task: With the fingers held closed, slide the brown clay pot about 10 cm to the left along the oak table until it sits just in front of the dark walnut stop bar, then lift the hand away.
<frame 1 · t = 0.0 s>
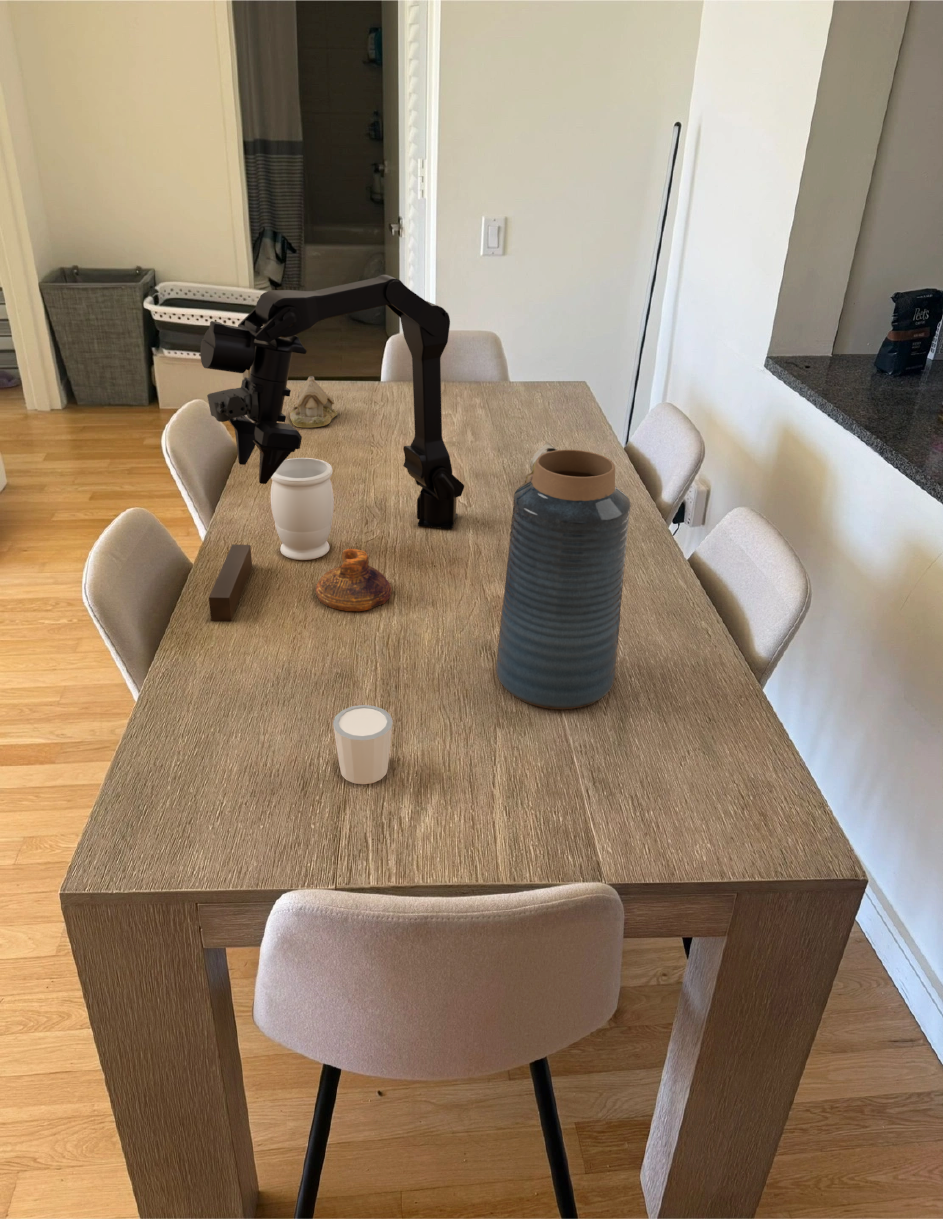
hand: (252, 473, 151), 15 cm above the table, tool pointing down, fingers open, 9 cm apart
vase: (554, 679, 131), on the table
white cup: (364, 770, 113), on the table
ceramic sculpture: (548, 489, 191), on the table
jar: (305, 551, 163), on the table
ceramic model: (313, 419, 223), on the table
stop bar: (232, 592, 149), on the table
brown clay pot: (354, 595, 150), on the table
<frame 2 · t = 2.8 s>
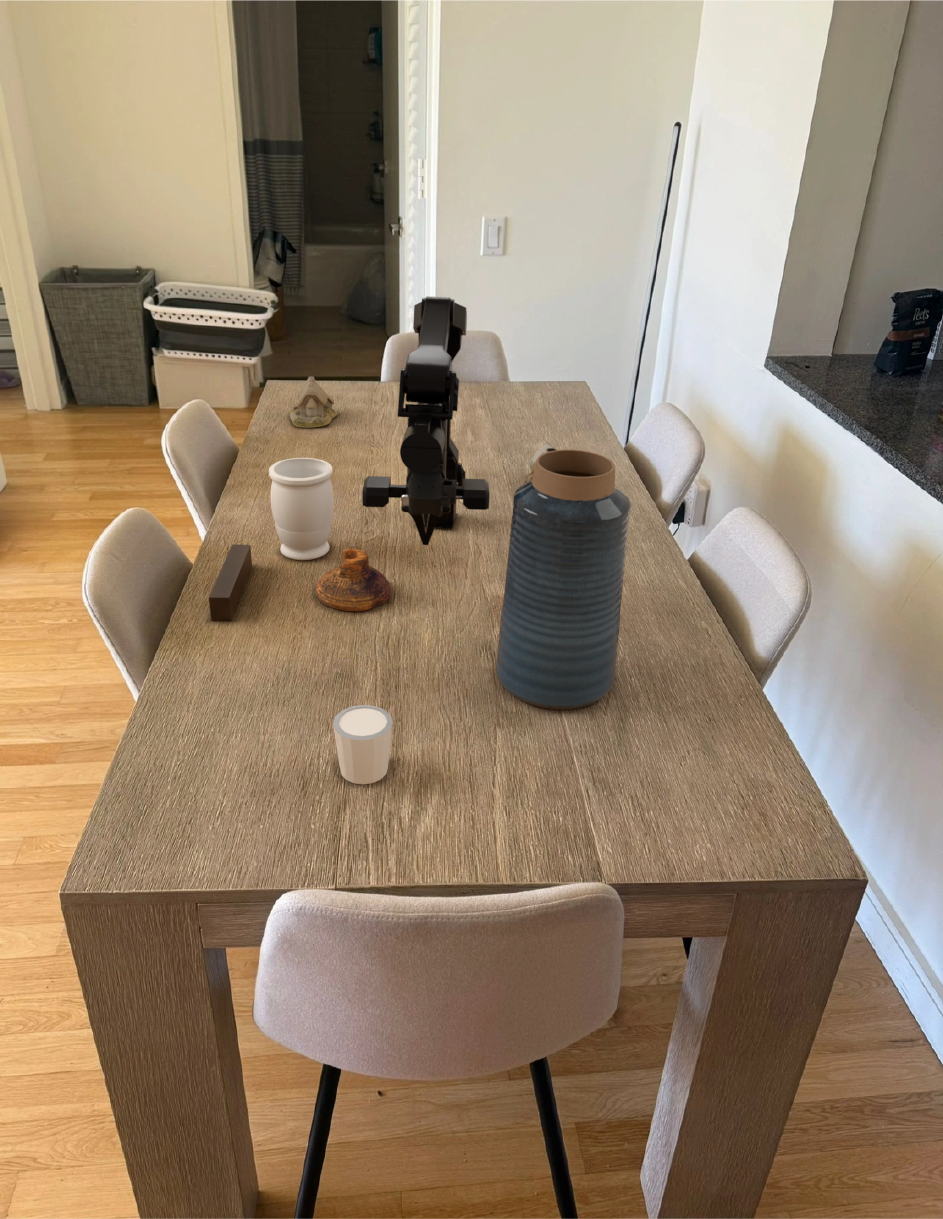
hand: (425, 544, 146), 9 cm above the table, tool pointing down, fingers closed
nothing on the table moved.
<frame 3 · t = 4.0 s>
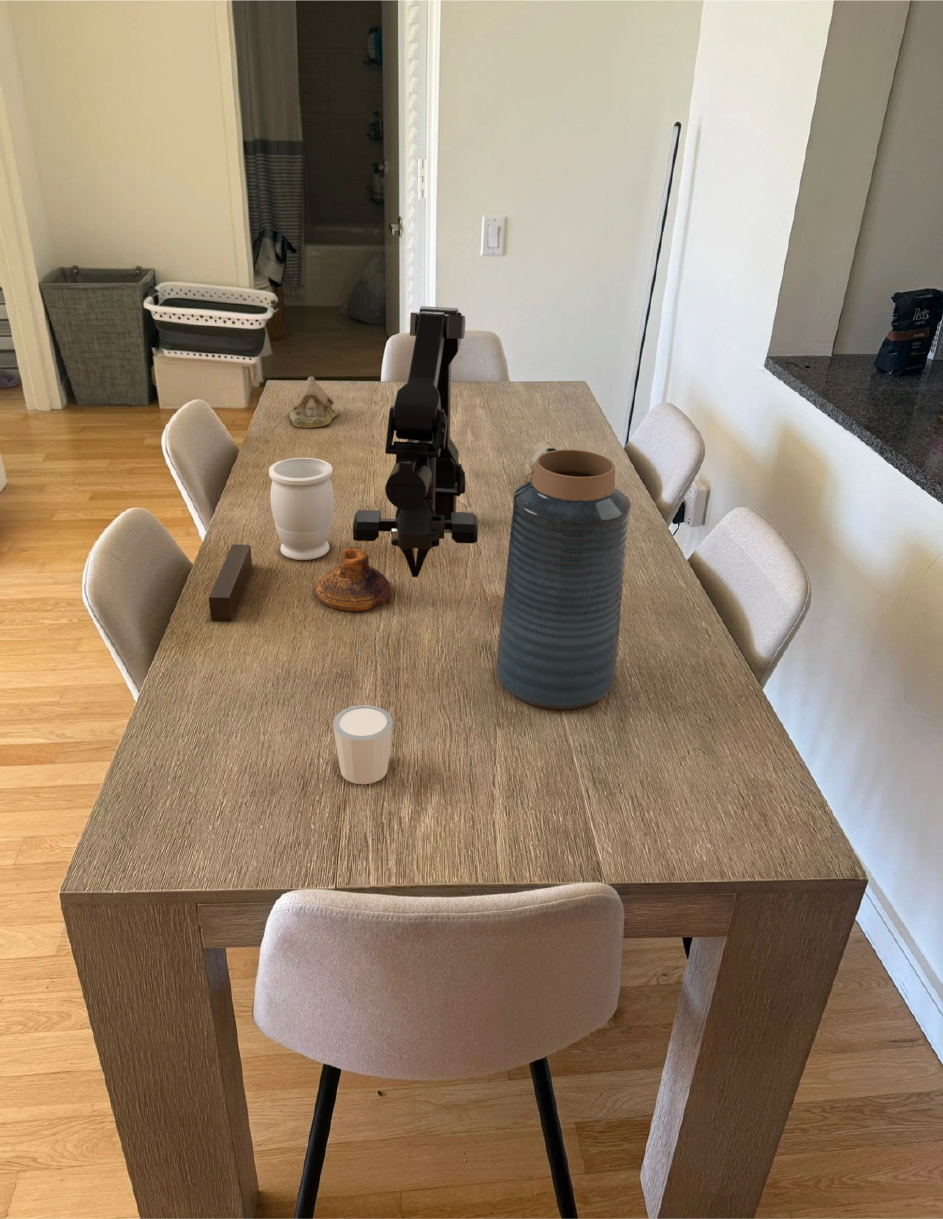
hand: (415, 576, 148), 4 cm above the table, tool pointing down, fingers closed
nothing on the table moved.
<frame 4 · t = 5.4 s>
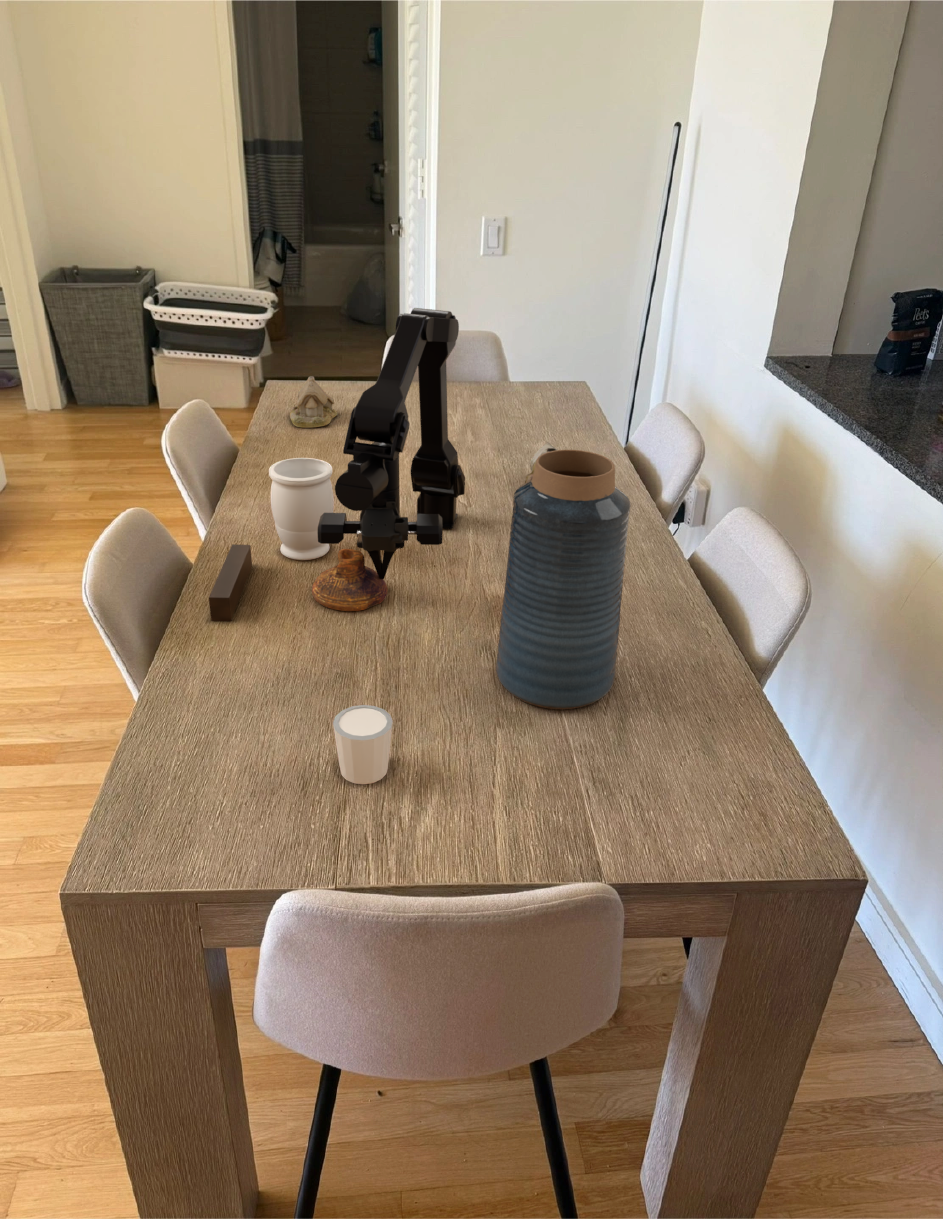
hand: (381, 578, 148), 3 cm above the table, tool pointing down, fingers closed
brown clay pot: (350, 595, 150), on the table, touching gripper
everything else where it was.
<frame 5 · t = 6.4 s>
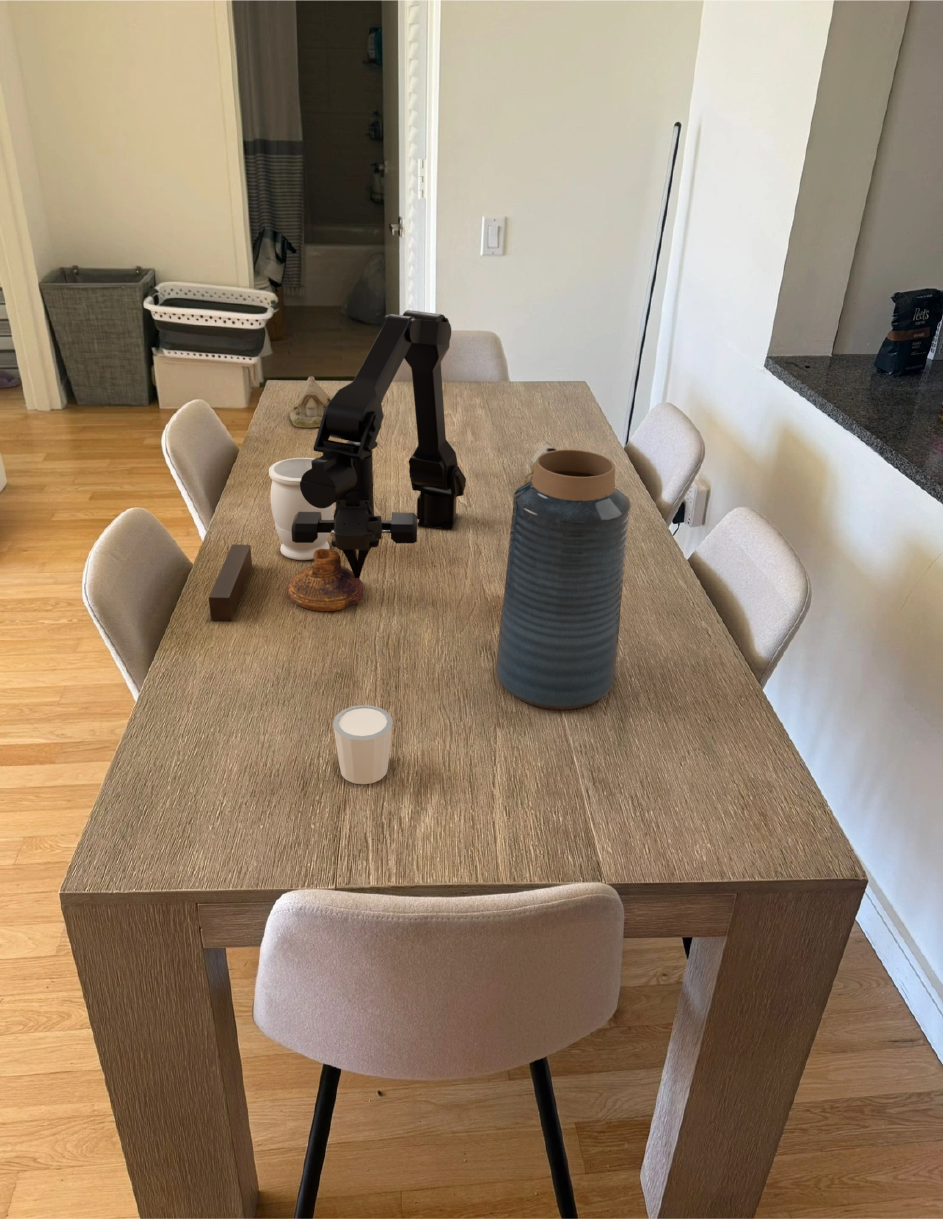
hand: (357, 577, 148), 3 cm above the table, tool pointing down, fingers closed
brown clay pot: (326, 595, 149), on the table, touching gripper
everything else where it was.
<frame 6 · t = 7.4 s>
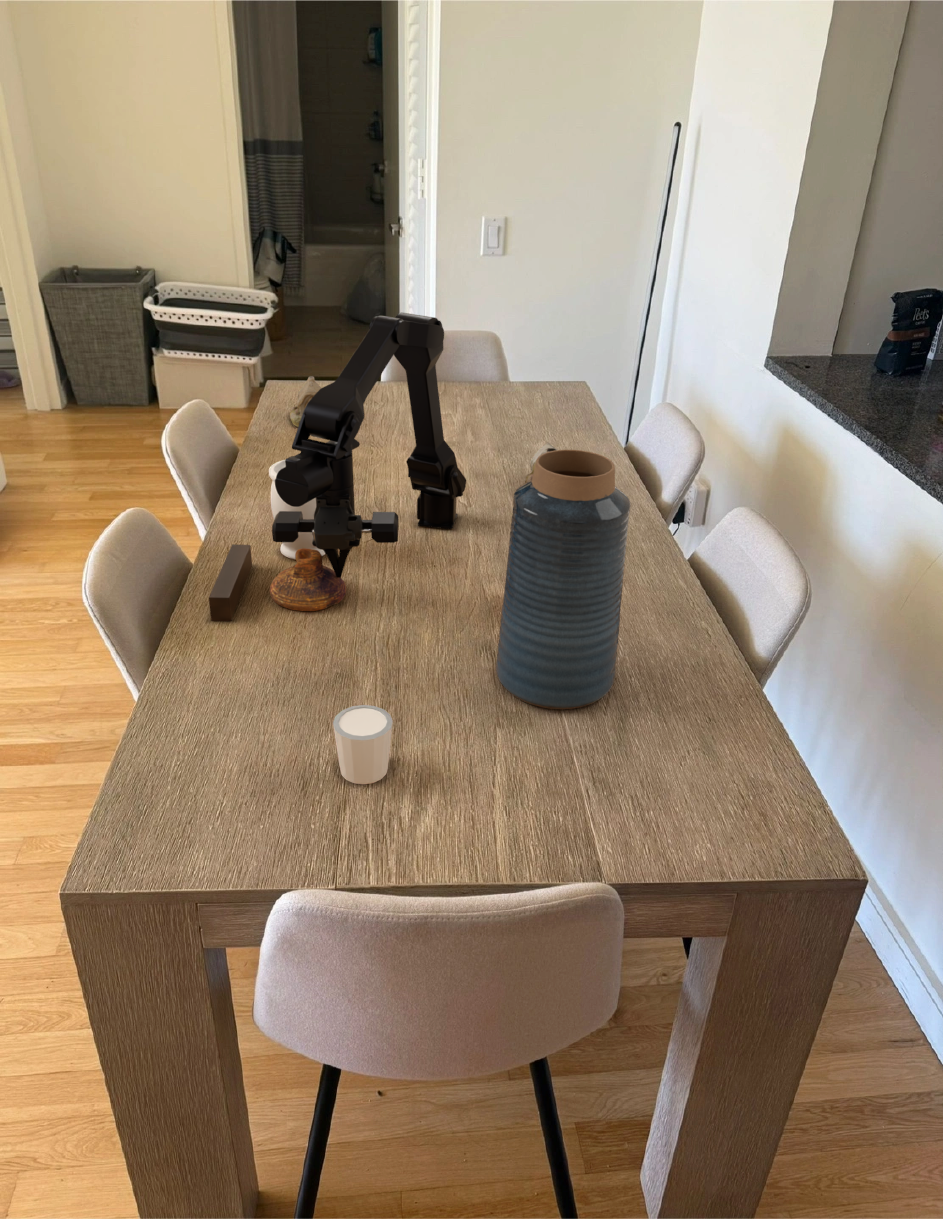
hand: (339, 576, 148), 3 cm above the table, tool pointing down, fingers closed
brown clay pot: (308, 595, 149), on the table, touching gripper
everything else where it was.
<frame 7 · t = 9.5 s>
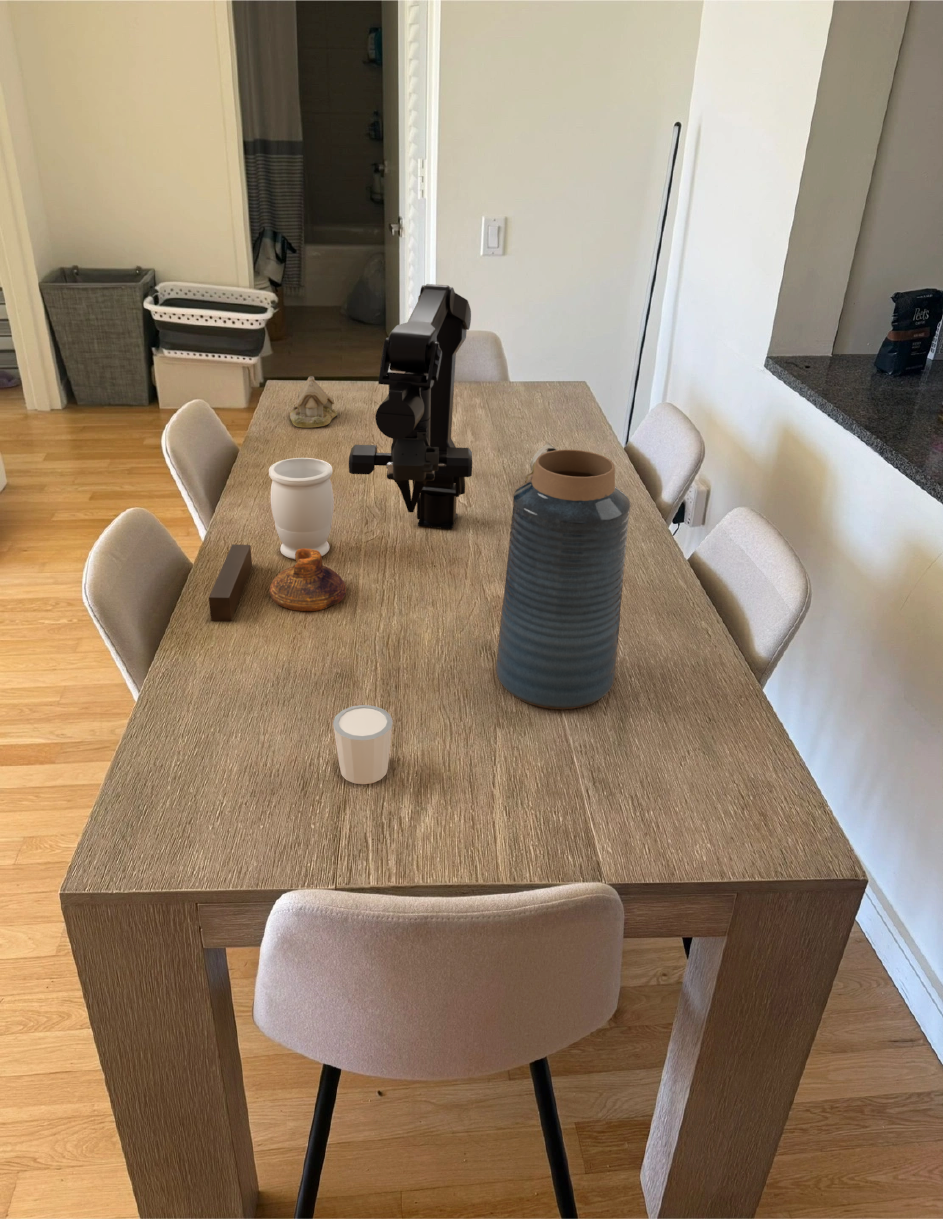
hand: (411, 511, 150), 12 cm above the table, tool pointing down, fingers closed
brown clay pot: (308, 595, 149), on the table
everything else where it was.
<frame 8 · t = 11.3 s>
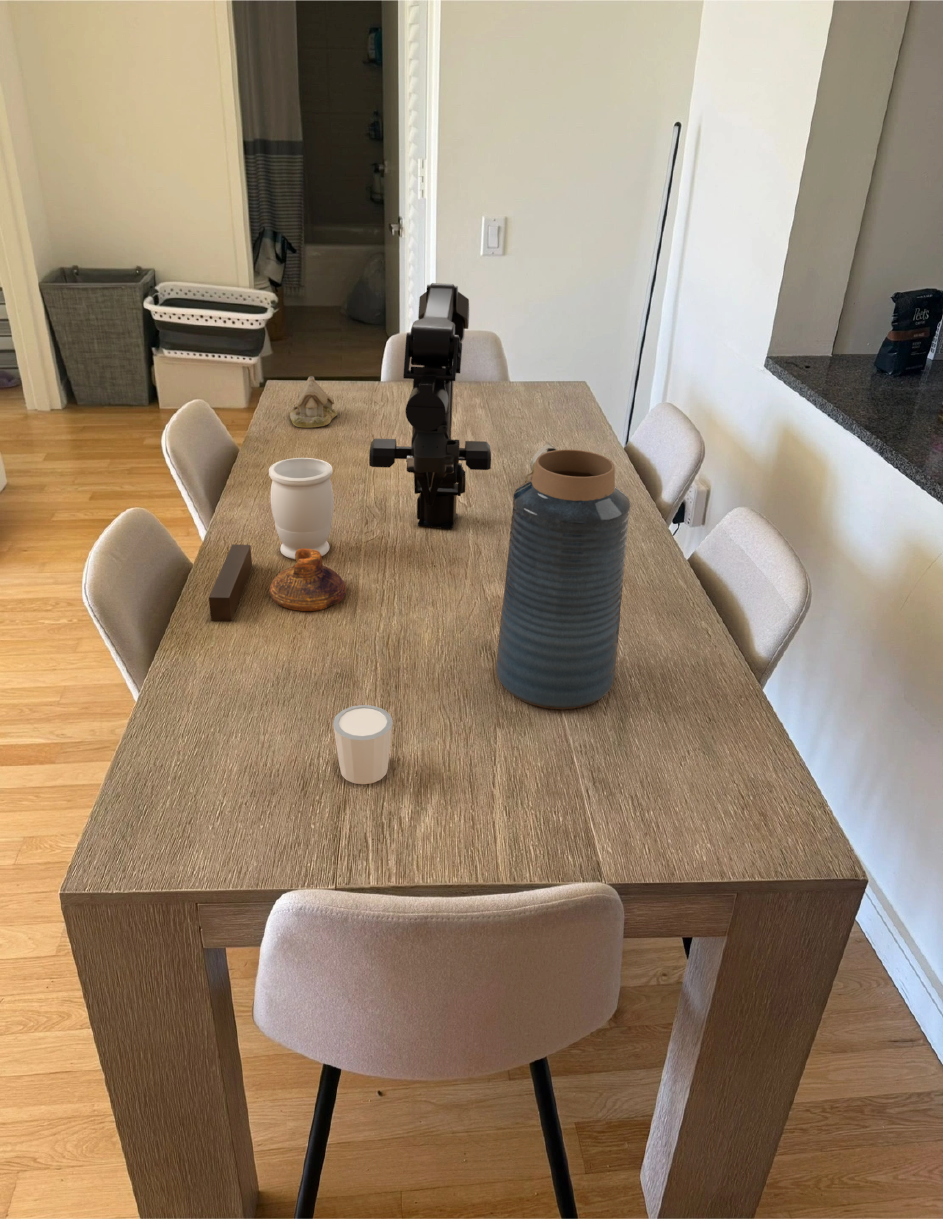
hand: (429, 504, 152), 12 cm above the table, tool pointing down, fingers closed
nothing on the table moved.
at the end: brown clay pot inside the target area (3.0 cm from its centre), on the table; brown clay pot moved 7.1 cm from its start; brown clay pot tilted 0° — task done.
